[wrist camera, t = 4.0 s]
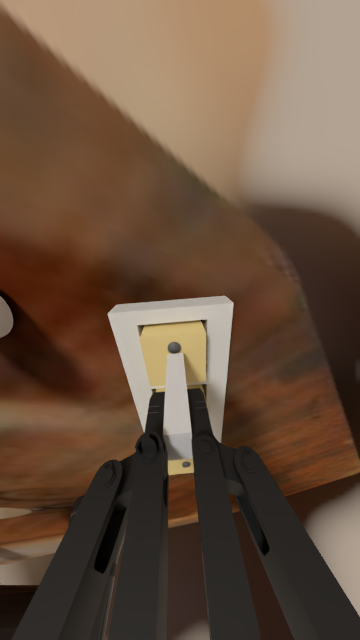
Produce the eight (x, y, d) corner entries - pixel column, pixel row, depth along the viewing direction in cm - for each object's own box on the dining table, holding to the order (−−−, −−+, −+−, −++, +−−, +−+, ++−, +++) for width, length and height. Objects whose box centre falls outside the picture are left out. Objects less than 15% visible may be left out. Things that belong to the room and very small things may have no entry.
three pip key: (201, 359, 19) (208, 382, 16) (153, 363, 19) (149, 388, 15) (201, 317, 16) (208, 334, 13) (145, 322, 16) (138, 340, 13)
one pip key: (203, 443, 26) (208, 472, 22) (168, 447, 26) (167, 476, 22) (203, 423, 23) (208, 452, 20) (164, 427, 23) (162, 457, 20)
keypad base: (216, 436, 28) (220, 453, 26) (153, 443, 28) (152, 459, 26) (225, 295, 16) (233, 302, 14) (116, 304, 16) (107, 313, 14)
